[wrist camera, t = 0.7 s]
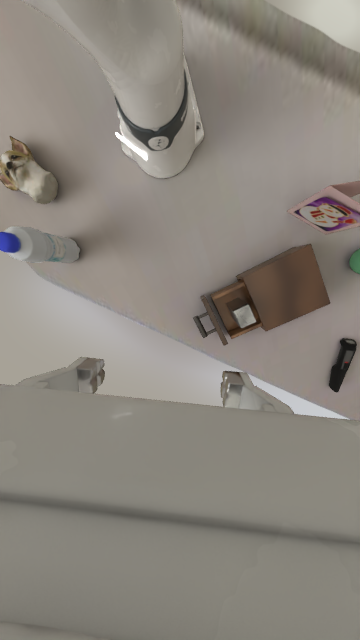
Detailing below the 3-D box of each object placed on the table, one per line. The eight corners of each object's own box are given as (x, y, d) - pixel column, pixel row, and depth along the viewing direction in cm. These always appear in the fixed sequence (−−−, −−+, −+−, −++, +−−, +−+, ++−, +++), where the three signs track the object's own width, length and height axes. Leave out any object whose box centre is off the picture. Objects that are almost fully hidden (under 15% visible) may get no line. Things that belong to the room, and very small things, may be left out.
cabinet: (256, 323, 54) (265, 331, 47) (235, 276, 51) (242, 277, 44) (312, 298, 51) (330, 303, 45) (294, 247, 48) (311, 243, 42)
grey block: (232, 318, 52) (240, 328, 43) (225, 303, 51) (232, 311, 42) (245, 312, 51) (257, 321, 42) (238, 297, 50) (249, 303, 41)
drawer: (207, 344, 56) (209, 352, 50) (186, 303, 53) (186, 307, 48) (269, 316, 52) (278, 321, 47) (251, 271, 50) (258, 271, 45)
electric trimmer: (322, 385, 58) (330, 392, 55) (339, 337, 54) (348, 342, 51) (335, 386, 58) (343, 393, 55) (353, 339, 54) (363, 343, 51)
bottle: (85, 263, 52) (23, 260, 33) (62, 264, 53) (-13, 263, 33) (80, 236, 51) (12, 217, 31) (56, 238, 51) (-26, 220, 32)
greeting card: (284, 214, 47) (326, 191, 32) (303, 183, 45) (357, 142, 30) (323, 237, 47) (381, 224, 33) (344, 207, 46) (415, 179, 31)
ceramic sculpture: (25, 208, 41) (-35, 163, 40) (55, 220, 50) (5, 183, 49) (46, 161, 39) (-17, 111, 38) (74, 181, 47) (22, 141, 46)
